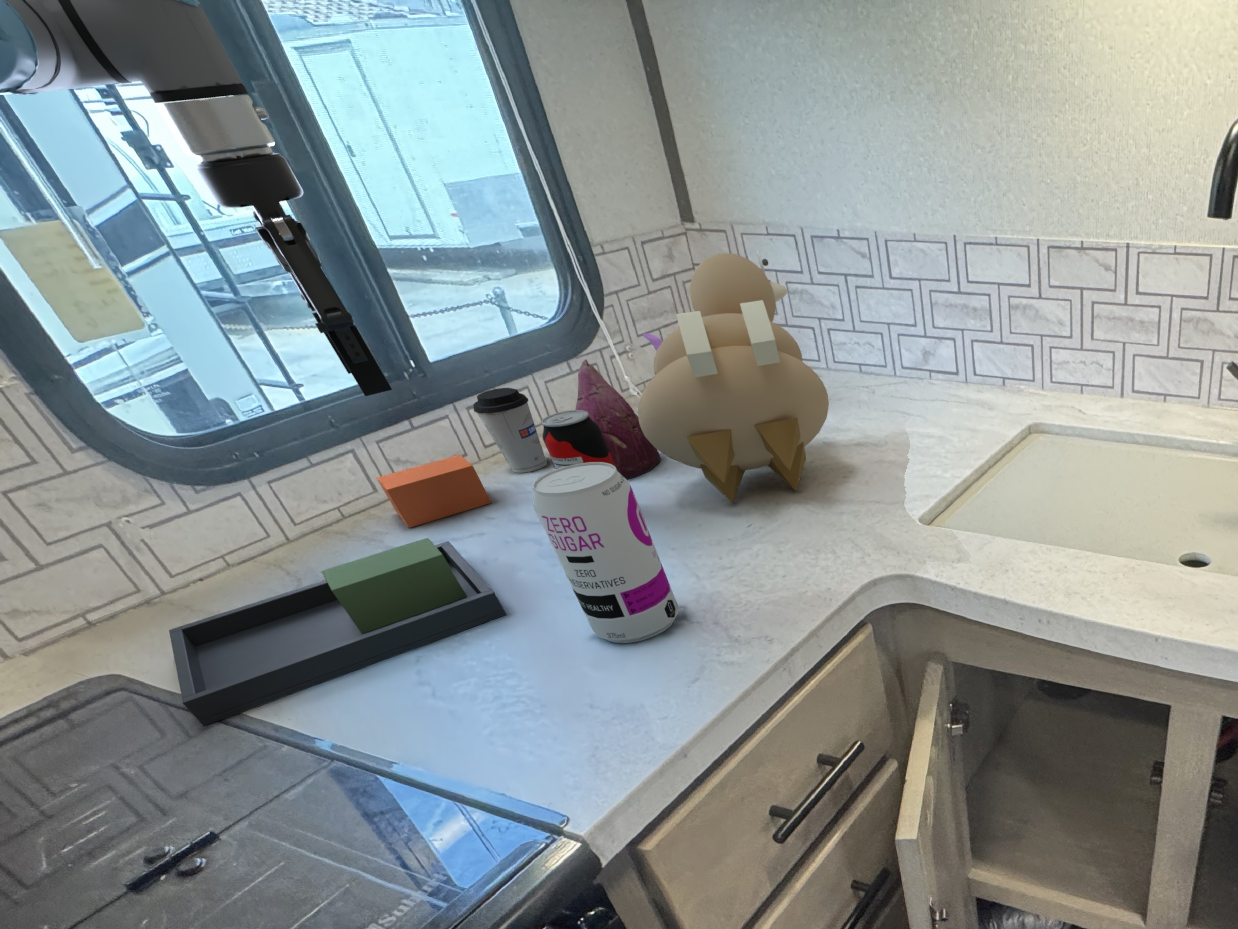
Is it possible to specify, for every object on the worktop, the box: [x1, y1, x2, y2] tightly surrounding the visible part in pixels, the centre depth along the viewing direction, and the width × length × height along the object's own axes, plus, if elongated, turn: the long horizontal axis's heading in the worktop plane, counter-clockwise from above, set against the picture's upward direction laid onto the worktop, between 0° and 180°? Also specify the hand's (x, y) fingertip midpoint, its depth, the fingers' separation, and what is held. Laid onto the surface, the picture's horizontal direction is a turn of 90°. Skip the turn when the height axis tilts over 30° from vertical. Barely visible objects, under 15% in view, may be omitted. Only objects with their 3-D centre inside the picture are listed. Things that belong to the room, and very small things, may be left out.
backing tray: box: [168, 540, 507, 727], centre depth 85 cm, size 18×26×3 cm
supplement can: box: [532, 462, 680, 644], centre depth 79 cm, size 8×8×15 cm
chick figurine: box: [637, 250, 830, 504], centre depth 102 cm, size 30×28×23 cm
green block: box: [321, 537, 467, 634], centre depth 87 cm, size 6×10×5 cm, turn 132°
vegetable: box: [574, 359, 662, 480], centre depth 114 cm, size 10×10×15 cm
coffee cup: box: [473, 387, 548, 474], centre depth 116 cm, size 7×7×10 cm
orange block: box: [376, 454, 492, 529], centre depth 108 cm, size 6×10×5 cm, turn 132°
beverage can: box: [541, 409, 615, 470], centre depth 101 cm, size 6×6×12 cm
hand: (369, 381), depth 97 cm, fingers open, 13 cm apart
